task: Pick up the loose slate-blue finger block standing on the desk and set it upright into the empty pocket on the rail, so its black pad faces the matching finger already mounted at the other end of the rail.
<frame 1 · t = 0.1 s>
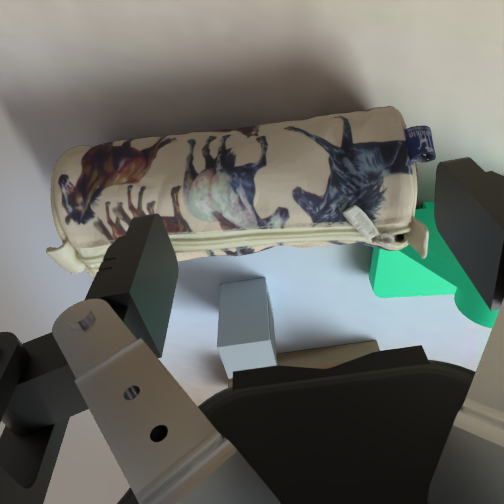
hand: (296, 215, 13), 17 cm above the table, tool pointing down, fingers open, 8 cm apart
camera mount: (441, 237, 35), on the table
rail: (304, 365, 45), on the table
finger block: (247, 296, 38), on the table
pencil case: (240, 161, 31), on the table
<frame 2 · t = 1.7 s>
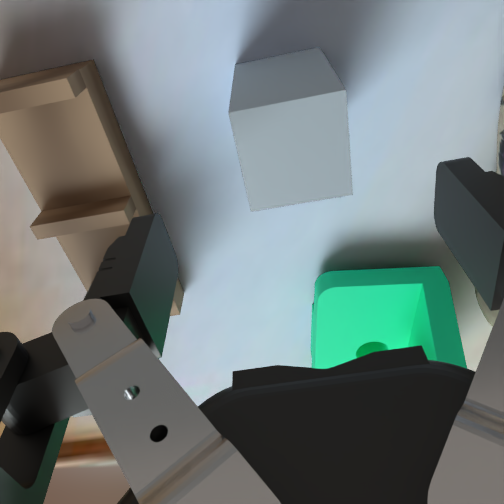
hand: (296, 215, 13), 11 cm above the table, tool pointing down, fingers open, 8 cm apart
camera mount: (363, 322, 31), on the table
rail: (105, 204, 25), on the table
finger block: (283, 98, 21), on the table
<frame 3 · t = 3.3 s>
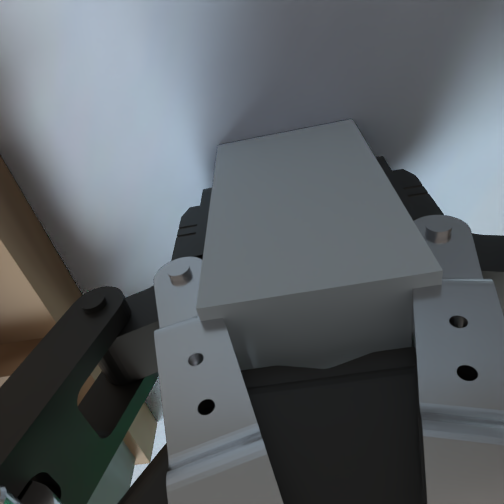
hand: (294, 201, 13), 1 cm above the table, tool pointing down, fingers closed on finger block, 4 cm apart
rail: (37, 327, 17), on the table
finger block: (293, 191, 14), on the table, touching gripper
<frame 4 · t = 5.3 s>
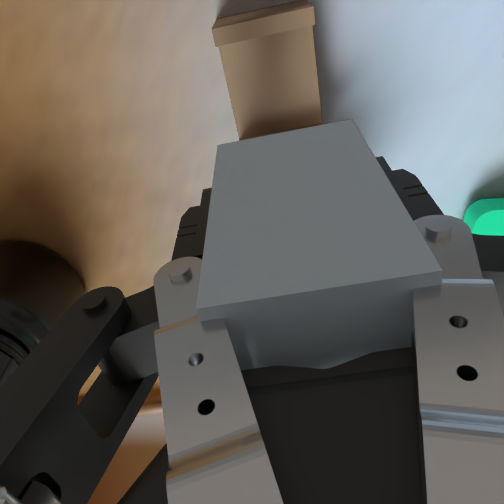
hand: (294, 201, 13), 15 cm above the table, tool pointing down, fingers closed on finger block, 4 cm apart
camera mount: (491, 255, 34), on the table
rail: (281, 138, 28), on the table
finger block: (293, 191, 14), point 15 cm above the table, touching gripper
ink bottle: (31, 280, 35), on the table
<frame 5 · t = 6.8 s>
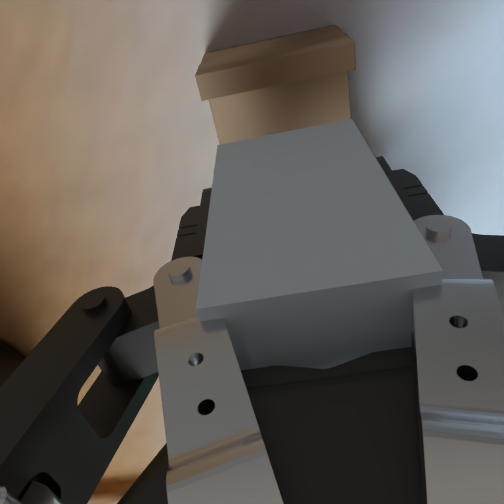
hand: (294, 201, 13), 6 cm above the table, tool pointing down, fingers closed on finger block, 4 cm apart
rail: (295, 208, 20), on the table
finger block: (293, 191, 14), point 6 cm above the table, touching gripper
when the fingers open (4 cm above the table, at t = 7.7 s): finger block stays where it is, resting on rail.
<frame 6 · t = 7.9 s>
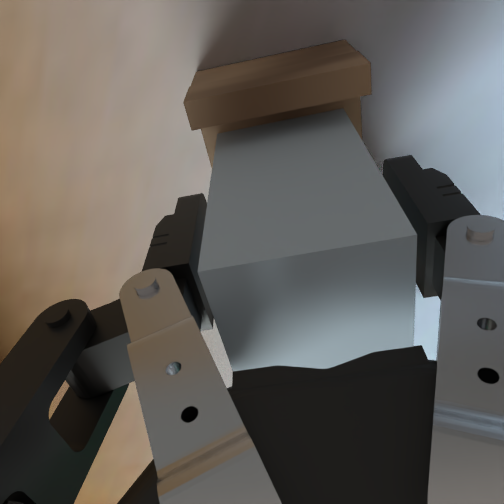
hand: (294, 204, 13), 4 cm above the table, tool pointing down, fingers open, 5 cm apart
rail: (298, 239, 18), on the table
finger block: (288, 177, 15), point 2 cm above the table, touching rail
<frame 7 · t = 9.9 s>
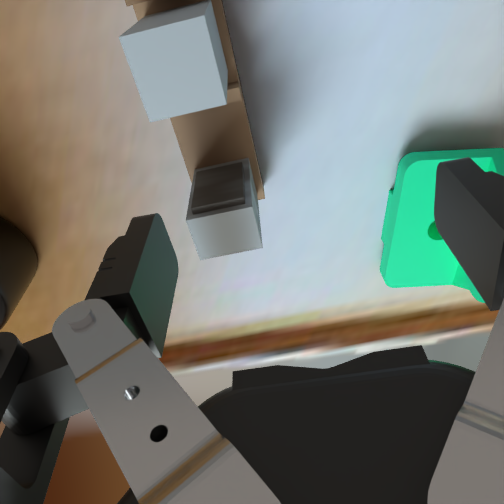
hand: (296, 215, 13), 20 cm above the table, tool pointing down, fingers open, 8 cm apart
camera mount: (428, 211, 36), on the table
rail: (207, 99, 30), on the table
finger block: (187, 44, 26), point 2 cm above the table, touching rail
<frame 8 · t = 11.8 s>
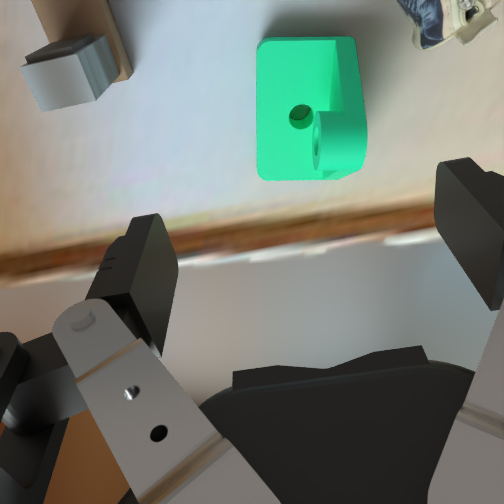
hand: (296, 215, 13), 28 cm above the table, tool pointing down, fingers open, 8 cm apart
camera mount: (298, 106, 39), on the table
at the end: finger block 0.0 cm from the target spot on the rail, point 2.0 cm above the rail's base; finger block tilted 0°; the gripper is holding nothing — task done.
